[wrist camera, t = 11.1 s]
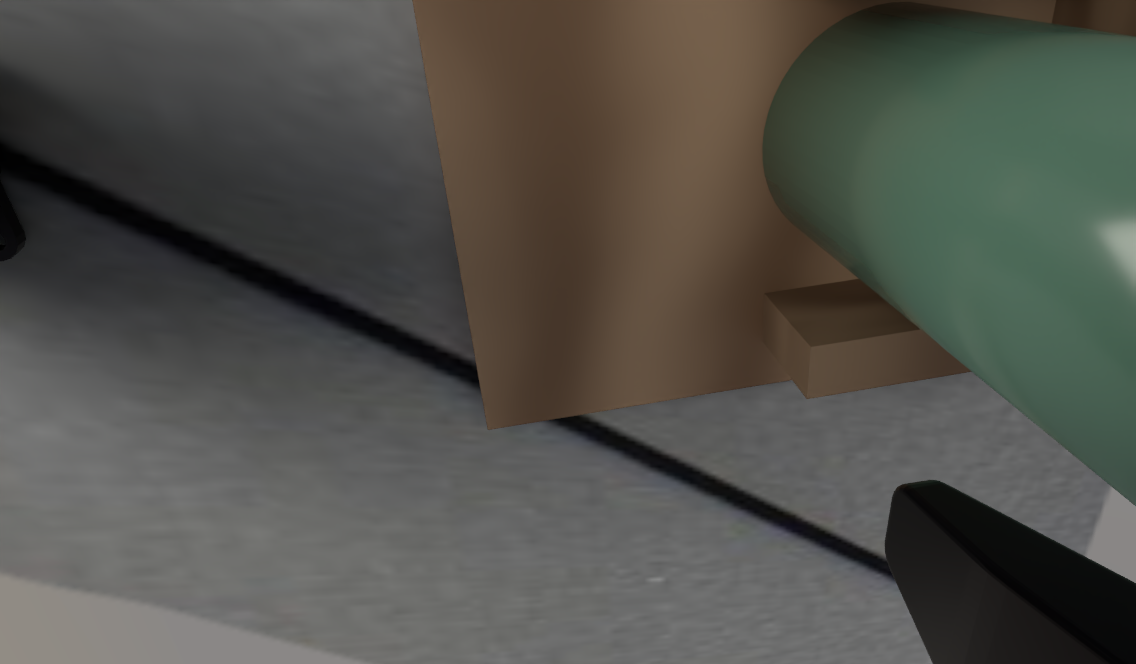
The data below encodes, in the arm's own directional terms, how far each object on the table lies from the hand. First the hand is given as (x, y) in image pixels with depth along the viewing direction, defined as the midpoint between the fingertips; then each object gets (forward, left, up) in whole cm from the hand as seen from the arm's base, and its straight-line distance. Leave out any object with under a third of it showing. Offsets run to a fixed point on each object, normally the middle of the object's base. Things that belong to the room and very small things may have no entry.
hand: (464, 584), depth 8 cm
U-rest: (+9, 0, -13) cm, 16 cm away
